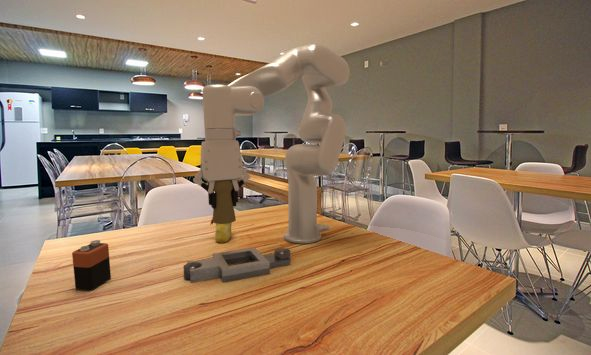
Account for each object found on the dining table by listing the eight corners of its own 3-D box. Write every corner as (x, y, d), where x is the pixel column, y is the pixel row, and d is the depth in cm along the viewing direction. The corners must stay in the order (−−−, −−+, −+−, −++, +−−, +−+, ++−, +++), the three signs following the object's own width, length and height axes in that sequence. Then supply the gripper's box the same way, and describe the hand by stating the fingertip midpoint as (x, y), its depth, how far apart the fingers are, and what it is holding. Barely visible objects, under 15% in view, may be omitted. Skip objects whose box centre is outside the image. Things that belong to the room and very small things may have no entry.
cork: (230, 224, 84) (228, 181, 82) (208, 223, 85) (205, 180, 83) (239, 218, 89) (237, 177, 88) (218, 216, 91) (216, 177, 89)
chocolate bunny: (234, 233, 118) (233, 191, 116) (229, 243, 107) (227, 198, 105) (214, 233, 118) (213, 191, 116) (207, 244, 107) (206, 198, 105)
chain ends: (281, 253, 99) (281, 243, 99) (298, 268, 88) (298, 257, 88) (181, 269, 87) (180, 258, 87) (187, 289, 77) (186, 276, 76)
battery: (112, 278, 82) (108, 239, 81) (91, 291, 76) (87, 249, 74) (95, 277, 83) (92, 238, 81) (74, 290, 76) (70, 248, 75)
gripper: (249, 134, 90) (251, 200, 93) (183, 136, 84) (188, 206, 87) (257, 135, 84) (259, 206, 87) (186, 137, 77) (191, 213, 80)
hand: (223, 205), depth 87 cm, fingers closed on cork, 4 cm apart
